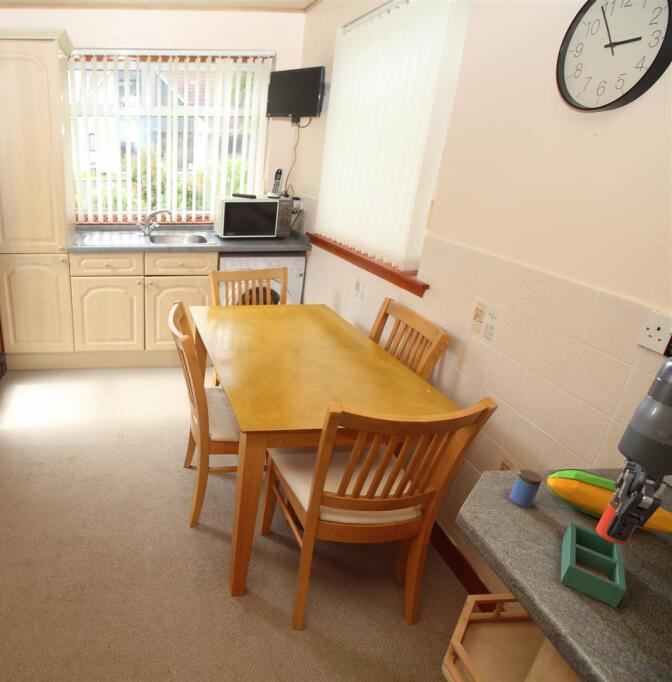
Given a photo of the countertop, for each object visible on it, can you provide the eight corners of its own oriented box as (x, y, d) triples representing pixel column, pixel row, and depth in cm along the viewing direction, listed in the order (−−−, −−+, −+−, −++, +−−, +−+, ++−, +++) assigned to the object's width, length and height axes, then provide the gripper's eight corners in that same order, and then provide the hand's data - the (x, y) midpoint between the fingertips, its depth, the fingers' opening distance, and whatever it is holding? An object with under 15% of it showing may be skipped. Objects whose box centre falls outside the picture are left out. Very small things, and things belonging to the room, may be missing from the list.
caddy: (612, 558, 79) (621, 542, 78) (616, 607, 70) (626, 590, 69) (562, 537, 83) (570, 522, 82) (560, 582, 74) (569, 565, 73)
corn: (556, 452, 94) (700, 500, 82) (542, 482, 97) (679, 532, 85) (553, 471, 89) (706, 525, 77) (539, 502, 92) (684, 558, 80)
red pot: (626, 534, 71) (643, 503, 69) (627, 548, 69) (646, 516, 66) (595, 522, 73) (611, 491, 71) (595, 535, 71) (612, 504, 68)
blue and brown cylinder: (532, 500, 92) (543, 474, 90) (530, 509, 90) (542, 484, 87) (510, 491, 94) (520, 466, 92) (508, 500, 92) (518, 475, 89)
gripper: (718, 467, 57) (654, 572, 63) (697, 422, 67) (644, 516, 74) (634, 442, 61) (582, 543, 68) (626, 403, 71) (582, 494, 78)
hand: (614, 529), depth 71 cm, fingers closed on red pot, 3 cm apart
